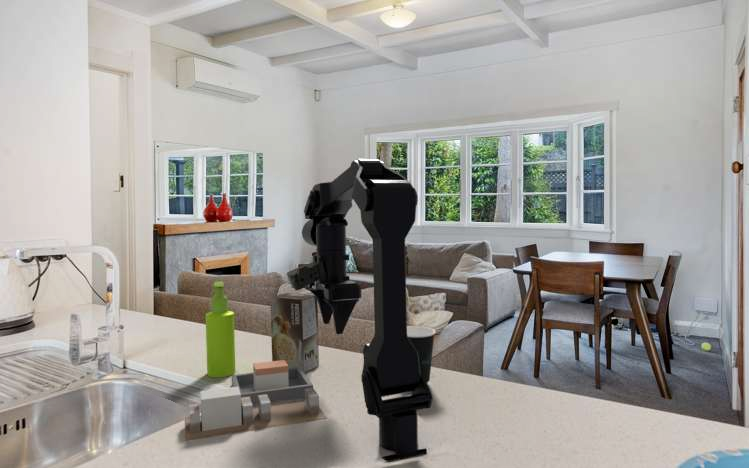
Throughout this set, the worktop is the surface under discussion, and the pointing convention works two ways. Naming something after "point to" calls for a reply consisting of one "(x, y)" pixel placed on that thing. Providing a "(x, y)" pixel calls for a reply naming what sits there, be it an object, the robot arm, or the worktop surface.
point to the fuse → (220, 408)
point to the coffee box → (295, 330)
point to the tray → (295, 389)
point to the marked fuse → (270, 375)
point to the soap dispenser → (220, 336)
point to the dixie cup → (422, 346)
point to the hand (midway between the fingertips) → (332, 328)
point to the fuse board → (259, 415)
